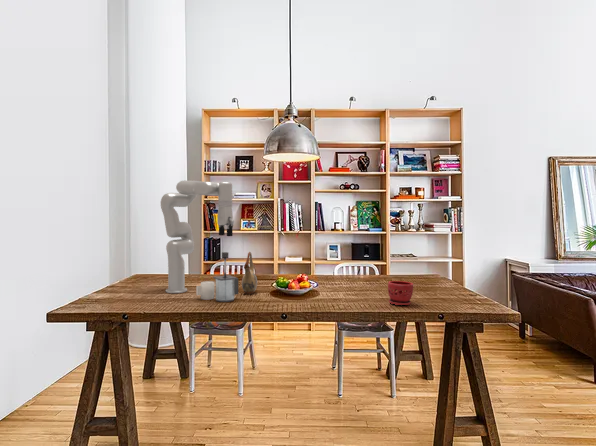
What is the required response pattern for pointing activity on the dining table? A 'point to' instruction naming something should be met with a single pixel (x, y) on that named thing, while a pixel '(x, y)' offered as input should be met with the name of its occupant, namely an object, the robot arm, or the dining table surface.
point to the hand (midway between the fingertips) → (225, 235)
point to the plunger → (224, 255)
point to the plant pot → (400, 292)
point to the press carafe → (226, 288)
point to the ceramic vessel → (249, 276)
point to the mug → (206, 290)
